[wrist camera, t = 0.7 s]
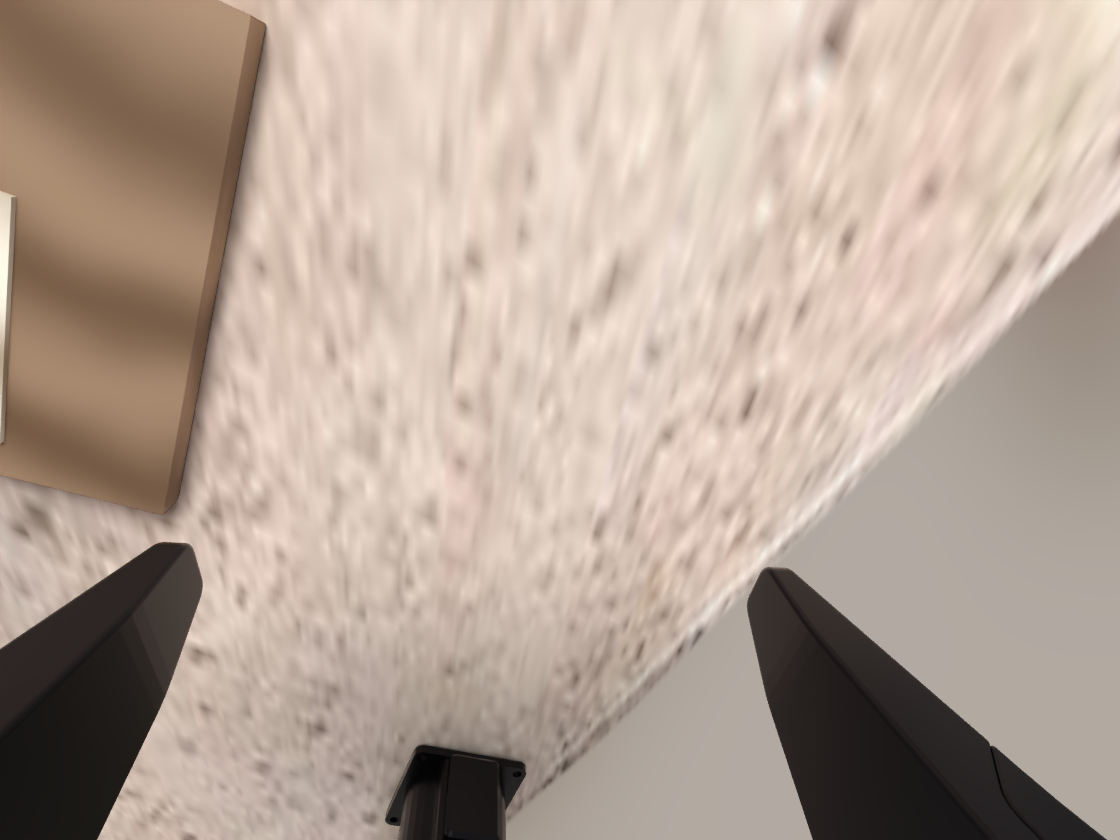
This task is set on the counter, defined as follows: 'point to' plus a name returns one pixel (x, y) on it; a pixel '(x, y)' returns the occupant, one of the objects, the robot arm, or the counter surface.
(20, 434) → the walnut board
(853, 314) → the counter surface
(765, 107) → the counter surface
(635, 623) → the counter surface
